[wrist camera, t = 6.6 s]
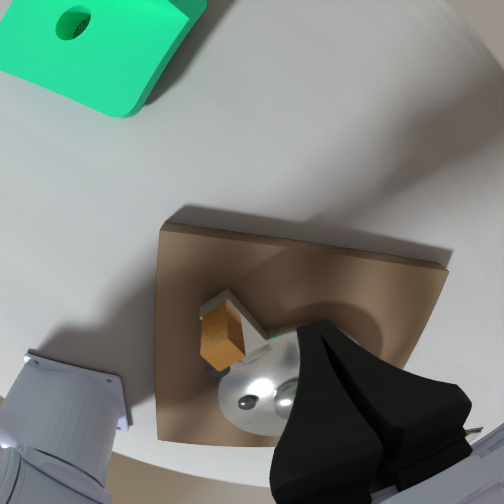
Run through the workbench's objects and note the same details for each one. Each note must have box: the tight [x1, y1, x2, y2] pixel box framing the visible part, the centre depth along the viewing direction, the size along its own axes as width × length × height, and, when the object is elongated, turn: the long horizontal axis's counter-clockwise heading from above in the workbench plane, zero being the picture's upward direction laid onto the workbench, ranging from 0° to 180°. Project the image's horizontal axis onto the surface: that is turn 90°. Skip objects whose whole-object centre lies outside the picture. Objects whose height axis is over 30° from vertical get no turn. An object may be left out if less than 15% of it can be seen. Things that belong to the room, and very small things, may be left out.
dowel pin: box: [205, 360, 231, 377], centre depth 18 cm, size 1×1×3 cm
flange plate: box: [199, 289, 362, 436], centre depth 18 cm, size 15×11×5 cm
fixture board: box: [155, 222, 449, 447], centre depth 22 cm, size 20×20×2 cm
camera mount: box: [0, 0, 207, 118], centre depth 8 cm, size 12×8×10 cm, turn 59°
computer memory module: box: [465, 427, 483, 443], centre depth 36 cm, size 15×1×4 cm
